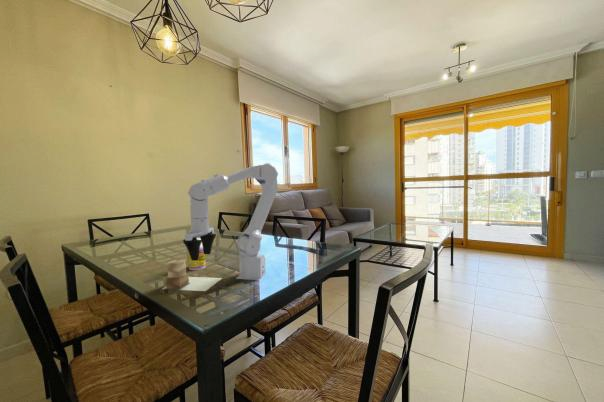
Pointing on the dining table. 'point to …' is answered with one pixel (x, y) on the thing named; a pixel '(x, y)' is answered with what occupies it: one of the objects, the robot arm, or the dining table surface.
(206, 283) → the cream flat slab
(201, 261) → the supplement bottle
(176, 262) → the maple pillar
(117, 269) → the dining table surface
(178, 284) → the walnut base
